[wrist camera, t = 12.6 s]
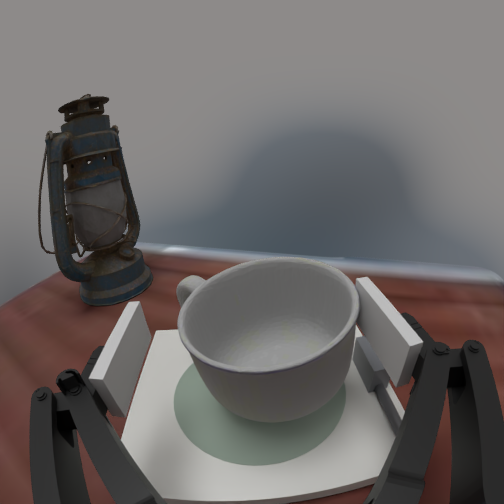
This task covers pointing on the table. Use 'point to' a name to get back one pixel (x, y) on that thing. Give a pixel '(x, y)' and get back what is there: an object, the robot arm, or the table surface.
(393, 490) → the robot arm
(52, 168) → the lantern
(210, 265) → the table surface
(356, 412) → the record player
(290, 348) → the teacup
